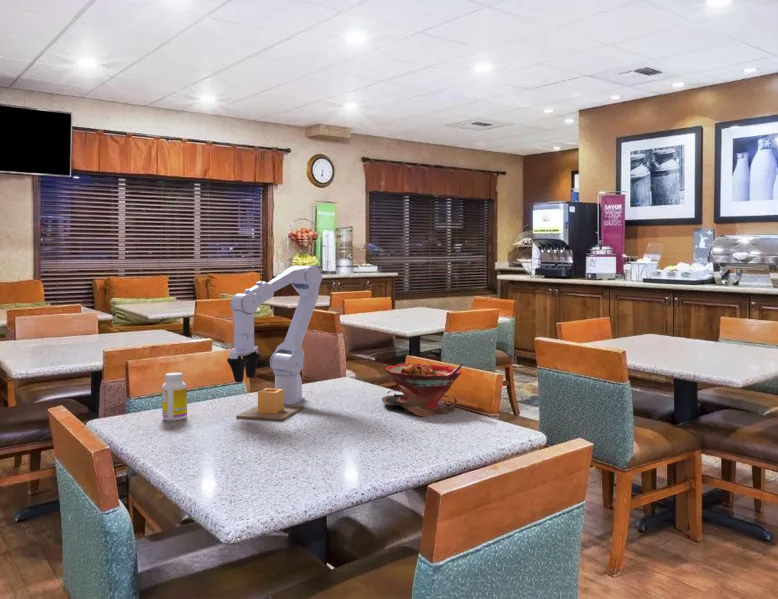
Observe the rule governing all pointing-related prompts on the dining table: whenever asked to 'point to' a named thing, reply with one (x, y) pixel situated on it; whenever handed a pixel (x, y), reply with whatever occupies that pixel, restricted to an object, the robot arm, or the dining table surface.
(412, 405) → the stew
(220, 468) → the dining table surface
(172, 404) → the supplement bottle
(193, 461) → the dining table surface
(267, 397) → the orange hollow cube
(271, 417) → the wooden board with peg
